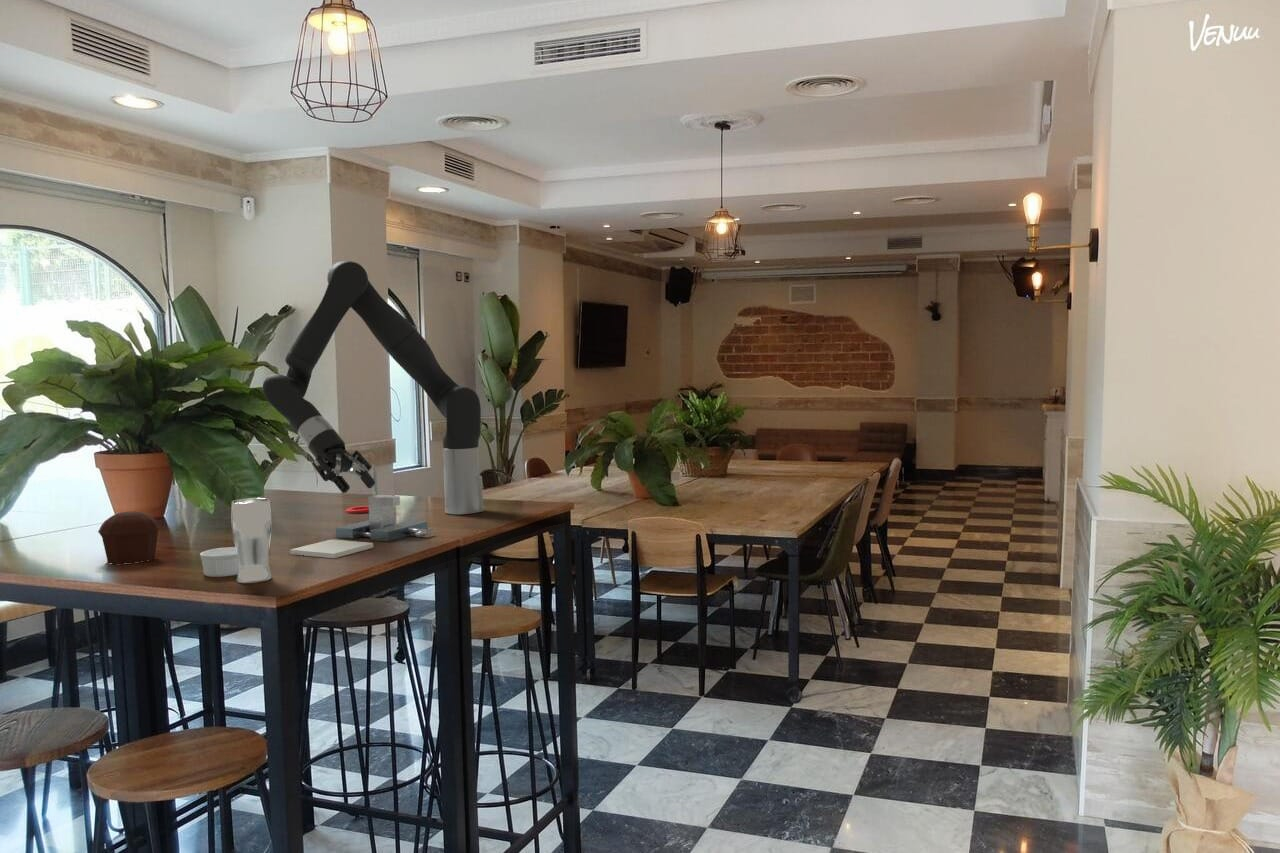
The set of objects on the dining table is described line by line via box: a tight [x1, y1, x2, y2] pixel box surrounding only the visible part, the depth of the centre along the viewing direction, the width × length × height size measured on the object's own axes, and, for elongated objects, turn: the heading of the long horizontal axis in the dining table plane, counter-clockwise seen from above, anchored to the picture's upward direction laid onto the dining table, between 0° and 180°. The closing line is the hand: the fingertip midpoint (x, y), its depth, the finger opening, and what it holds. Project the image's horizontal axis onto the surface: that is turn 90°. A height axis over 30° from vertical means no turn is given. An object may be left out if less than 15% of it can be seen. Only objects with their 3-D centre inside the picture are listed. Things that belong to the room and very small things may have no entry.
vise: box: [335, 519, 435, 543], centre depth 224 cm, size 20×14×2 cm
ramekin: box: [199, 546, 238, 578], centre depth 187 cm, size 9×9×4 cm
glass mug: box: [368, 494, 401, 531], centre depth 225 cm, size 6×4×9 cm, turn 64°
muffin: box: [97, 511, 162, 565], centre depth 201 cm, size 12×11×10 cm
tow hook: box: [345, 463, 380, 514], centre depth 260 cm, size 8×13×9 cm
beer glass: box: [230, 497, 273, 584], centre depth 180 cm, size 7×7×15 cm
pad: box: [290, 539, 374, 559], centre depth 207 cm, size 12×12×1 cm
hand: (359, 488), depth 228 cm, fingers open, 8 cm apart
